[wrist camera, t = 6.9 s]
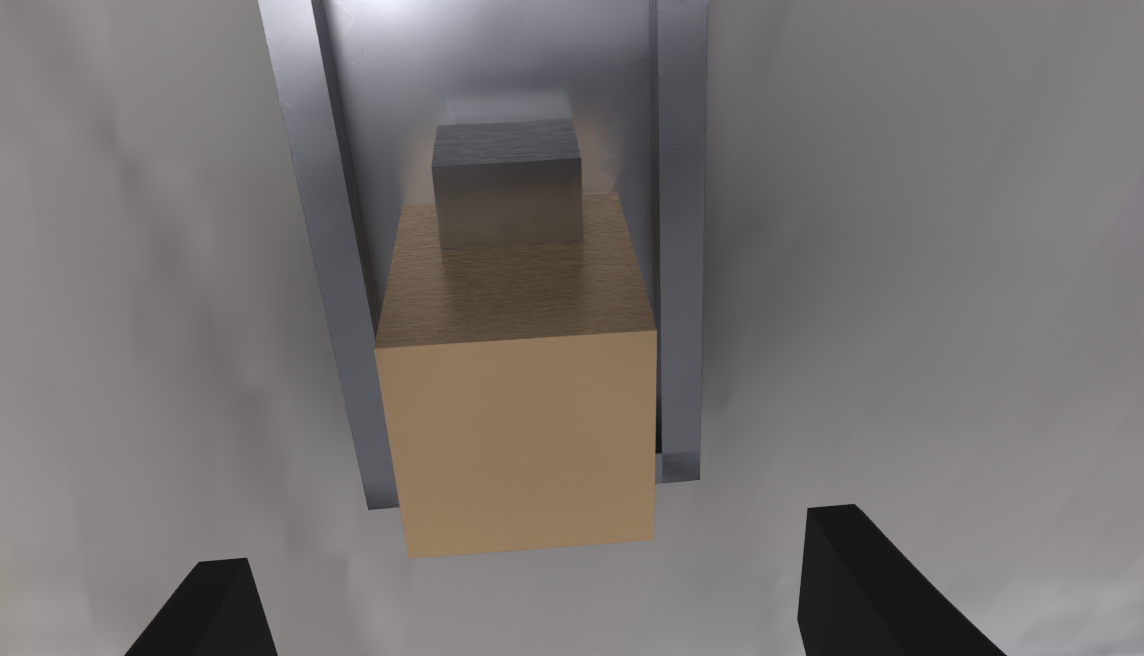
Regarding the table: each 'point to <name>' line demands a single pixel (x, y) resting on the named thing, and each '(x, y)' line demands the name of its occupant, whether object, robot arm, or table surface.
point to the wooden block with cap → (517, 352)
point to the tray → (487, 95)
